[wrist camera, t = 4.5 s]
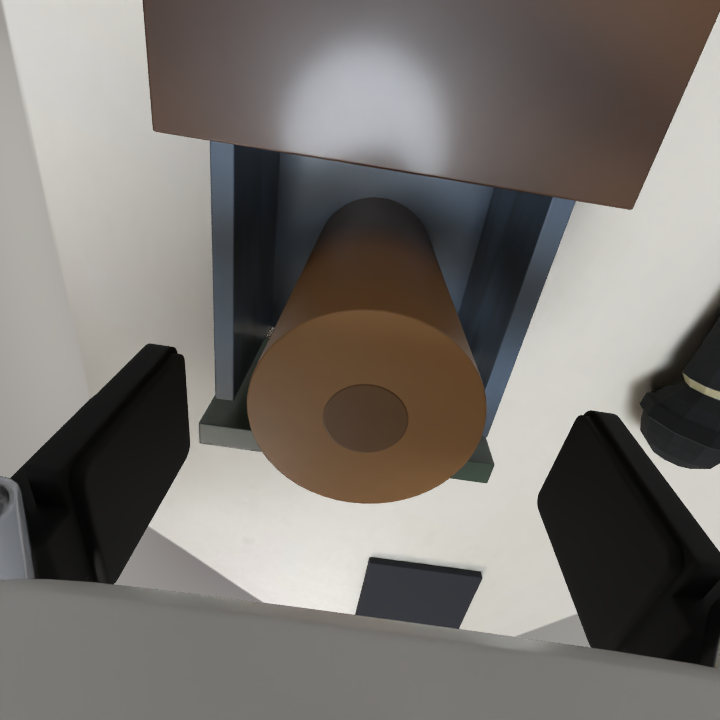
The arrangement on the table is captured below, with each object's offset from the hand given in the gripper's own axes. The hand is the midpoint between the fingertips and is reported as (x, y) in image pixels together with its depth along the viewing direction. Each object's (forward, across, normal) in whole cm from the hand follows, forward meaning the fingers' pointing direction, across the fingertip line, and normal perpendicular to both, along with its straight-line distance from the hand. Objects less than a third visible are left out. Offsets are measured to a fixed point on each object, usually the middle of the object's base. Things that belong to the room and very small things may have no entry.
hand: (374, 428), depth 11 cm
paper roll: (+14, 0, 0) cm, 15 cm away
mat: (+16, -9, +32) cm, 37 cm away
